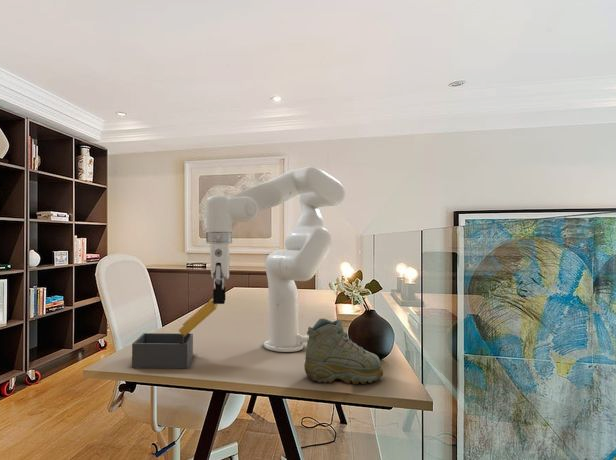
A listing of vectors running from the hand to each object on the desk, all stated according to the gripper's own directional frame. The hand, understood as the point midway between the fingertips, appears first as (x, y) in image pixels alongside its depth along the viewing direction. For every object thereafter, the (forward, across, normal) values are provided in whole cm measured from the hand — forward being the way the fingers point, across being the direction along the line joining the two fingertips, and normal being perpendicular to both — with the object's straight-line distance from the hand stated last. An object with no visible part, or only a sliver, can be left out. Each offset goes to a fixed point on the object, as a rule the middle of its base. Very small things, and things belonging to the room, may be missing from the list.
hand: (219, 301), depth 110 cm
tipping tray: (+4, 0, +4) cm, 5 cm away
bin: (+17, 0, +16) cm, 23 cm away
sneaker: (+17, -12, -32) cm, 38 cm away
